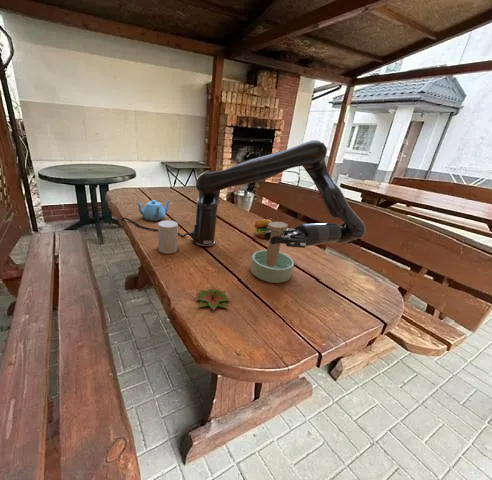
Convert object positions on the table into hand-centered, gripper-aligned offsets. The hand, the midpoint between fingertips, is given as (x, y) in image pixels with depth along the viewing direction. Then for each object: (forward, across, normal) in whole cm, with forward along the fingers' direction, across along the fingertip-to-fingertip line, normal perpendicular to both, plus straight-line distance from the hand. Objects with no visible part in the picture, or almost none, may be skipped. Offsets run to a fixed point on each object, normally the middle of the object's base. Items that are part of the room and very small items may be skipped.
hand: (268, 238), depth 85 cm
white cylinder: (+26, -35, +19) cm, 48 cm away
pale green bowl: (-9, -8, +19) cm, 23 cm away
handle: (-3, 0, +11) cm, 11 cm away
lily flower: (+19, +3, +19) cm, 27 cm away
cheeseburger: (-25, -43, +20) cm, 53 cm away
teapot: (+27, -76, +19) cm, 83 cm away
